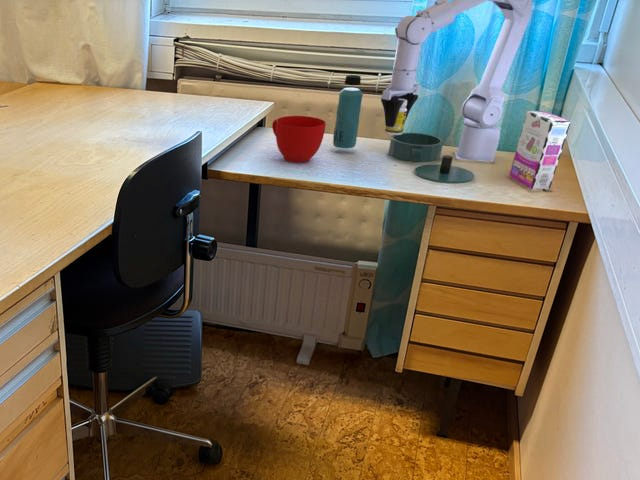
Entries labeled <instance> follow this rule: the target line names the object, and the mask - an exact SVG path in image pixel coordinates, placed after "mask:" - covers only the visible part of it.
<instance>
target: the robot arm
mask: <svg viewBox="0 0 640 480" xmlns="http://www.w3.org/2000/svg"><path fill="white" fill-rule="evenodd" d="M485 2H491V3H493V4H494V5H495V6H497V8H499V10H500V12H501V14H502V16H503V18H504V22H502V23H503V24H502V26H501V28H500V30H499V33H498V37H497V39H496V41H495V44H494V46H493V49H492V51H491V53H490V56H489V58H488V59H489V60H488V62H487V64H486V67H485V70H484V72H483V74H482V77H481V80H480V83H479V84H478V85H477V86H475V87H473V88H472V89H471V91H470V94H469V96H468V97H467V98H466V99H465V100H464V102H463V104H462V106H461V115H462V117H463V118H464V119H463V126H462V131H461V134H460V139H459V144H458V147H457V150H454V156H455V158H456V160H467V161H478V162H491V163H492V162H495V161H494V160H495V157H496V153H497V148H498V145H499V142H500V141H499V140H500V136H501V126H498V125H497V123H498V122H499V121H500V119H501V117H502V115H503V106H504V105H503V104H504V102H505V95H504V93H503V86H504V84H505V81H506V79H507V76H508V74H509V71H510V69H511V66H512V64H513V61H514V59H515V56H516V54H517V53H518V49H519V47H520V44H521V42H522V40H523V38H524V34H525V32H526V29H527V26H528V24H529V22H530V20H531V16H532V12H533V11H532V10H533V8H532V7H533V0H451V1H450V0H435V1H434V4H432V5H430V6H429V7H426V8H425V9H422V10H421V9H419V10H417V11H416V13H415V15H406V16H404V17H402V18H401V19H400V21H399V22H398V24H397V26H396V27H395V29H394V34H395V37H396V38H397V42H396V49H395V56H394V60H393V61H394V62H393V68H392V74H391V80H390V84H388V85H386V86H385V90H383V91H382V95H381V98H380V102H381V104H382V107H383V111H384V123H385V125H386V126H389V127H394V125H395V123H396V119H397V115H398V112H399V110H400V108H401V106H402V104H403V103H404V100H398V99H406V100H407V105H406V108H407V113H406V119H405V122H406V121H407V119H408V117H409V114H410V111H411V109H412V108H413V106H414V104H415V103H416V102H417V101H418V99H419V95H418V94H417V93H419V89H420V84H418V83H415V82H416V76H417V71H418V65H419V60H420V55H421V49H422V44H423V43H424V41H426V40H427V38H428V37H429V35H431V34H433V33H434V32H437V31H438V30H441V29H442V28H444V27H446V26H448V25H450V24H452V23H453V22H454V20H455V18H456V16H457V15H459V14H461V13H463V12H466V11H469V10H470V9H473V8H474V7H477V6H479V5H482V4H483V3H485ZM414 93H415V94H414ZM385 125H384V126H385Z"/></svg>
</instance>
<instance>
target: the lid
mask: <svg viewBox="0 0 640 480" xmlns="http://www.w3.org/2000/svg"><path fill="white" fill-rule="evenodd" d="M453 158H454V157H453V156H451V155H443V156H442V158H441V162H440V164H438V163H437V164H423V165H419V166H416V168H415V169H414V174H415V175H416V176H418V177H419V178H421V179H424V180H427V181H429V182H430V181H431V182H435V183H441V184H442V183H443V184H464V183H469V182H471V181H473V180H474V179H475V174H474V173H473V171H470V170H468V169H466V168H463V167H459V166H455V165H452V164H453Z"/></svg>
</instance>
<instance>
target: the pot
mask: <svg viewBox="0 0 640 480" xmlns="http://www.w3.org/2000/svg"><path fill="white" fill-rule="evenodd" d="M390 136H391V137H390V140H389V141H390V142H389V147H388V153H387V154H388V156H390V157H391V158H393V159H395V160H398V161H403V162H409V163H433V162H437V161H439V160H440V159H441V156H442V151H443V146H444V139H442V138H441V137H439V136H436V135H433V134H428V133H423V132H422V133H421V132H403V133H402V134H401V135H390Z"/></svg>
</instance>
